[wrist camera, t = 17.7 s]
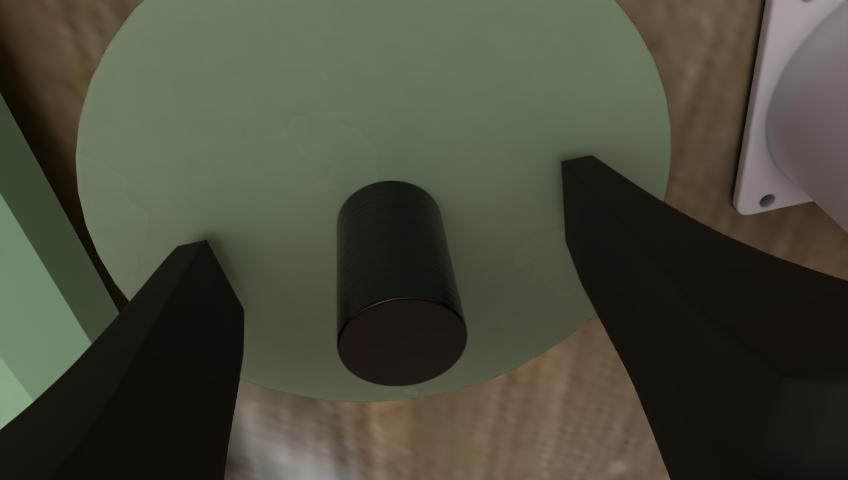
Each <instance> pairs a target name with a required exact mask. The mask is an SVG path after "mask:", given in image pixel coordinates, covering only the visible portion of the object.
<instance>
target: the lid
mask: <svg viewBox="0 0 848 480" xmlns="http://www.w3.org/2000/svg"><path fill="white" fill-rule="evenodd" d="M589 155H593V156H595V157H596V158H598V159H599V160H601V161H602V162H604V163H605V164H606V165H608V166H609V167H611V168H612V169H614V170H615V171H617V172H618V173H620V174H621V175H623V176H624V177H626V178H627V179H629V180H630V181H632V182H633V183H635V184H636V185H638V186H639V187H641V188H642V189H644V190H645V191H647V192H648V193H650V194H652V195H653V196H655V197H656V198H658V199H660V200H661V201H664V198H665V195H666V190H667V184H668V178H669V171H670V165H671V125H670V118H669V112H668V105H667V99H666V94H665V91H664V88H663V85H662V82H661V79H660V76H659V73H658V70H657V67H656V64H655V61H654V59H653V57H652V55H651V53H650V51H649V50H648V48H647V46H646V44H645V42H644V40H643V38H642V36H641V34H640V32H639V31H638V29H637V27H636V26H635V25H634V23H633V22H632V21H631V20H630V18H629V17H628V16H627V14H626V13H625V12H624V10H623V9H622V8H621V6H620V5H619V4H618V2H617V1H616V0H141V1H140V2H139V3H138V5H137V6H136V7H135V8H134V10H133V11H132V12H131V14H130V15H129V17H128V18H127V19H126V21H125V22H124V24H123V25H122V26H121V28H120V29H119V30H118V32H117V33H116V35H115V36H114V37H113V39H112V40H111V41H110V43H109V44H108V46H107V48H106V50H105V52H104V54H103V56H102V58H101V60H100V62H99V64H98V66H97V69H96V71H95V73H94V75H93V77H92V79H91V81H90V84H89V87H88V91H87V94H86V98H85V101H84V105H83V108H82V112H81V115H80V119H79V127H78V137H77V146H76V170H77V185H78V194H79V198H80V202H81V206H82V210H83V214H84V219H85V223H86V226H87V229H88V231H89V234H90V236H91V238H92V241H93V243H94V246H95V248H96V250H97V253H98V255H99V257H100V259H101V260H102V262H103V264H104V265H105V267H106V269H107V270H108V272H109V274H110V275H111V277H112V279H113V280H114V282H115V284H116V285H117V286H118V287H119V289H120V290H121V291H122V292H123V294H124V295H125V296H126V297H127V299H128V300H129V301H130V300H131V299H132V298H133V297H134V296H135V294H136V293H137V292H138V291H139V290H140V289H141V287H142V286H143V285H144V284H145V282H146V281H147V280H148V279H149V278H150V276H151V275H152V274H153V273H154V272H155V270H156V269H157V268H158V267H159V266H160V265H161V263H162V262H163V261H164V260H165V259H166V258H167V256H168V255H169V254H170V253H171V252H172V251H173V250H174V249H175V248H176V247H177V246H180V245H185V244H189V243H194V242H198V241H203V240H207V241H208V243H209V245H210V247H211V249H212V251H213V253H214V255H215V256H216V258H217V260H218V262H219V264H220V266H221V268H222V269H223V271H224V273H225V275H226V277H227V279H228V281H229V282H230V284H231V286H232V288H233V290H234V292H235V294H236V296H237V297H238V299H239V301H240V303H241V305H242V307H243V309H244V354H243V361H242V368H241V374H240V379H242V380H245V381H248V382H251V383H254V384H257V385H259V386H262V387H265V388H269V389H273V390H277V391H281V392H285V393H289V394H293V395H298V396H305V397H311V398H317V399H324V400H336V401H349V402H381V401H393V400H405V399H413V398H419V397H425V396H431V395H437V394H441V393H445V392H449V391H453V390H457V389H461V388H465V387H468V386H471V385H474V384H477V383H479V382H482V381H485V380H488V379H491V378H494V377H496V376H498V375H501V374H503V373H505V372H507V371H510V370H512V369H514V368H516V367H519V366H521V365H522V364H524V363H526V362H528V361H530V360H531V359H533V358H535V357H537V356H539V355H541V354H542V353H544V352H546V351H547V350H549V349H550V348H552V347H553V346H555V345H556V344H558V343H559V342H561V341H562V340H563V339H565V338H566V337H568V336H569V335H570V334H572V333H573V332H574V331H575V330H576V329H578V328H579V327H580V326H581V325H582V324H584V323H585V322H586V321H587V320H589V319H590V318H591V317H592V316H593V315H594V314H595V313H596V311H595V309H594V307H593V305H592V303H591V302H590V300H589V298H588V296H587V294H586V292H585V290H584V288H583V286H582V284H581V282H580V280H579V277H578V274H577V272H576V269H575V266H574V264H573V261H572V258H571V255H570V252H569V250H568V247H567V244H566V241H565V224H564V205H563V186H562V167H561V162H562V161H566V160H571V159H575V158H580V157H584V156H589Z"/></svg>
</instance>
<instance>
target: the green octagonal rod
mask: <svg viewBox="0 0 848 480" xmlns="http://www.w3.org/2000/svg"><path fill="white" fill-rule="evenodd" d="M118 315H119V311H118V310H117V308H116V306H115V304H114V302H113V300H112V299H111V297H110V295H109V293H108V291H107V289H106V287H105V286H104V284H103V282H102V280H101V278H100V276H99V275H98V273H97V271H96V269H95V267H94V265H93V263H92V262H91V260H90V258H89V256H88V254H87V252H86V250H85V249H84V247H83V245H82V243H81V241H80V239H79V238H78V236H77V234H76V232H75V230H74V228H73V226H72V225H71V223H70V221H69V219H68V217H67V215H66V214H65V212H64V210H63V208H62V206H61V204H60V202H59V201H58V199H57V197H56V195H55V193H54V191H53V190H52V188H51V186H50V184H49V182H48V180H47V178H46V177H45V175H44V173H43V171H42V169H41V167H40V165H39V164H38V162H37V160H36V158H35V156H34V154H33V153H32V151H31V149H30V147H29V145H28V143H27V141H26V140H25V138H24V136H23V134H22V132H21V130H20V129H19V127H18V125H17V123H16V121H15V119H14V117H13V116H12V114H11V112H10V110H9V108H8V106H7V105H6V103H5V101H4V99H3V97H2V95H1V93H0V429H1V428H3V427H4V426H5V425H6V424H8V423H9V422H10V421H11V420H12V419H14V418H15V417H16V416H17V415H19V414H20V413H21V412H22V411H23V410H25V409H26V408H27V407H28V406H29V405H30V404H31V403H33V402H34V401H35V400H36V399H37V398H38V397H39V396H40V395H41V394H42V393H43V392H45V391H46V390H47V389H48V388H49V387H50V386H51V385H52V384H53V383H54V382H55V381H56V380H57V379H58V378H59V377H61V376H62V375H63V374H64V373H65V372H66V371H67V370H68V369H69V368H70V367H71V366H72V365H73V364H74V363H75V362H76V361H77V360H78V359H79V357H80V356H81V355H82V354H83V353H84V352H85V351H86V350H87V349H88V348H89V347H90V345H91V344H92V343H93V342H94V341H95V340H96V339H97V338H98V337H99V336H100V335H101V333H102V332H103V331H104V330H105V329H106V328H107V327H108V326H109V325H110V324H111V323H112V322H113V320H114V319H115V318H116V317H117V316H118Z"/></svg>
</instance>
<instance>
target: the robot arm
mask: <svg viewBox="0 0 848 480" xmlns="http://www.w3.org/2000/svg"><path fill="white" fill-rule="evenodd" d="M561 167H562V186H563V205H564V224H565V241H566V244H567V247H568V250H569V252H570V255H571V258H572V261H573V264H574V266H575V269H576V272H577V274H578V277H579V280H580V282H581V284H582V286H583V288H584V290H585V292H586V294H587V296H588V298H589V300H590V302H591V303H592V305H593V307H594V309H595V311H596V313H597V315H598V317H599V319H600V321H601V323H602V324H603V326H604V328H605V330H606V332H607V334H608V336H609V338H610V340H611V341H612V343H613V345H614V347H615V349H616V351H617V353H618V355H619V357H620V358H621V360H622V362H623V364H624V366H625V368H626V370H627V372H628V374H629V376H630V378H631V381H632V383H633V385H634V387H635V389H636V392H637V394H638V397H639V399H640V402H641V404H642V407H643V409H644V412H645V414H646V417H647V419H648V422H649V424H650V427H651V429H652V432H653V434H654V437H655V440H656V442H657V445H658V448H659V450H660V453H661V456H662V458H663V461H664V464H665V466H666V469H667V471H668V474H669V477H670V479H671V480H848V281H847V280H843V279H840V278H837V277H833V276H830V275H827V274H824V273H821V272H817V271H815V270H812V269H809V268H806V267H803V266H800V265H798V264H795V263H792V262H789V261H786V260H783V259H781V258H778V257H775V256H773V255H770V254H768V253H765V252H763V251H760V250H758V249H756V248H753V247H751V246H749V245H746V244H744V243H742V242H740V241H737V240H735V239H733V238H730V237H728V236H726V235H724V234H722V233H720V232H718V231H716V230H714V229H712V228H710V227H708V226H706V225H704V224H702V223H700V222H698V221H697V220H695V219H693V218H691V217H689V216H687V215H685V214H684V213H682V212H680V211H678V210H677V209H675V208H673V207H671V206H670V205H668V204H666V203H665V202H663V201H661V200H660V199H658V198H656V197H655V196H653V195H652V194H650V193H648V192H647V191H645V190H644V189H642V188H641V187H639V186H638V185H636V184H635V183H633V182H632V181H630V180H629V179H627V178H626V177H624V176H623V175H621V174H620V173H618V172H617V171H615V170H614V169H612V168H611V167H609V166H608V165H606V164H605V163H604V162H602V161H601V160H599V159H598V158H596V157H595V156H593V155H589V156H584V157H580V158H575V159H571V160H566V161H562V162H561ZM766 195H767V196H766ZM764 196H766V197H765V198H764V199H762V198H763V197H764ZM761 199H762V200H761ZM811 201H814V202H815V203H816V204H817V205H818V206H819V207H820V208H821V209H822V210H824V211H825V212H826V213H827V214H828V215H829V216H830V217H831V218H832V219H833V220H834V221H835V222H836V223H837V224H838V225H839V226H841V227H842V228H843V229H844V230H845V231H846V232H847V233H848V0H766V2H765V8H764V14H763V20H762V26H761V32H760V39H759V45H758V51H757V57H756V63H755V69H754V75H753V81H752V87H751V93H750V99H749V106H748V112H747V118H746V124H745V130H744V136H743V142H742V148H741V154H740V160H739V166H738V173H737V179H736V185H735V191H734V197H733V206H734V207H735V208H736V210H737V211H738V212H739V213H740V214H742V215H751V214H756V213H760V212H765V211H769V210H774V209H779V208H783V207H788V206H793V205H797V204H802V203H807V202H811ZM243 354H244V309H243V307H242V305H241V303H240V301H239V299H238V297H237V296H236V294H235V292H234V290H233V288H232V286H231V284H230V282H229V281H228V279H227V277H226V275H225V273H224V271H223V269H222V268H221V266H220V264H219V262H218V260H217V258H216V256H215V255H214V253H213V251H212V249H211V247H210V245H209V243H208V241H207V240H203V241H198V242H194V243H189V244H185V245H180V246H177V247H176V248H175V249H174V250H173V251H172V252H171V253H170V254H169V255H168V256H167V258H166V259H165V260H164V261H163V262H162V263H161V265H160V266H159V267H158V268H157V269H156V270H155V272H154V273H153V274H152V275H151V276H150V278H149V279H148V280H147V281H146V282H145V284H144V285H143V286H142V287H141V289H140V290H139V291H138V292H137V293H136V294H135V296H134V297H133V298H132V299H131V300H130V302H129V303H128V304H127V305H126V306H125V307H124V309H123V310H122V311H121V312H120V313H119V315H118V316H117V317H116V318H115V319H114V320H113V322H112V323H111V324H110V325H109V326H108V327H107V328H106V329H105V330H104V331H103V332H102V333H101V335H100V336H99V337H98V338H97V339H96V340H95V341H94V342H93V343H92V344H91V345H90V347H89V348H88V349H87V350H86V351H85V352H84V353H83V354H82V355H81V356H80V357H79V359H78V360H77V361H76V362H75V363H74V364H73V365H72V366H71V367H70V368H69V369H68V370H67V371H66V372H65V373H64V374H63V375H62V376H61V377H59V378H58V379H57V380H56V381H55V382H54V383H53V384H52V385H51V386H50V387H49V388H48V389H47V390H46V391H45V392H43V393H42V394H41V395H40V396H39V397H38V398H37V399H36V400H35V401H34V402H33V403H31V404H30V405H29V406H28V407H27V408H26V409H25V410H23V411H22V412H21V413H20V414H19V415H17V416H16V417H15V418H14V419H12V420H11V421H10V422H9V423H8V424H6V425H5V426H4V427H3V428H1V429H0V480H224V473H225V465H226V457H227V450H228V444H229V438H230V432H231V427H232V421H233V415H234V409H235V404H236V398H237V392H238V386H239V380H240V374H241V368H242V361H243Z"/></svg>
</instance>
